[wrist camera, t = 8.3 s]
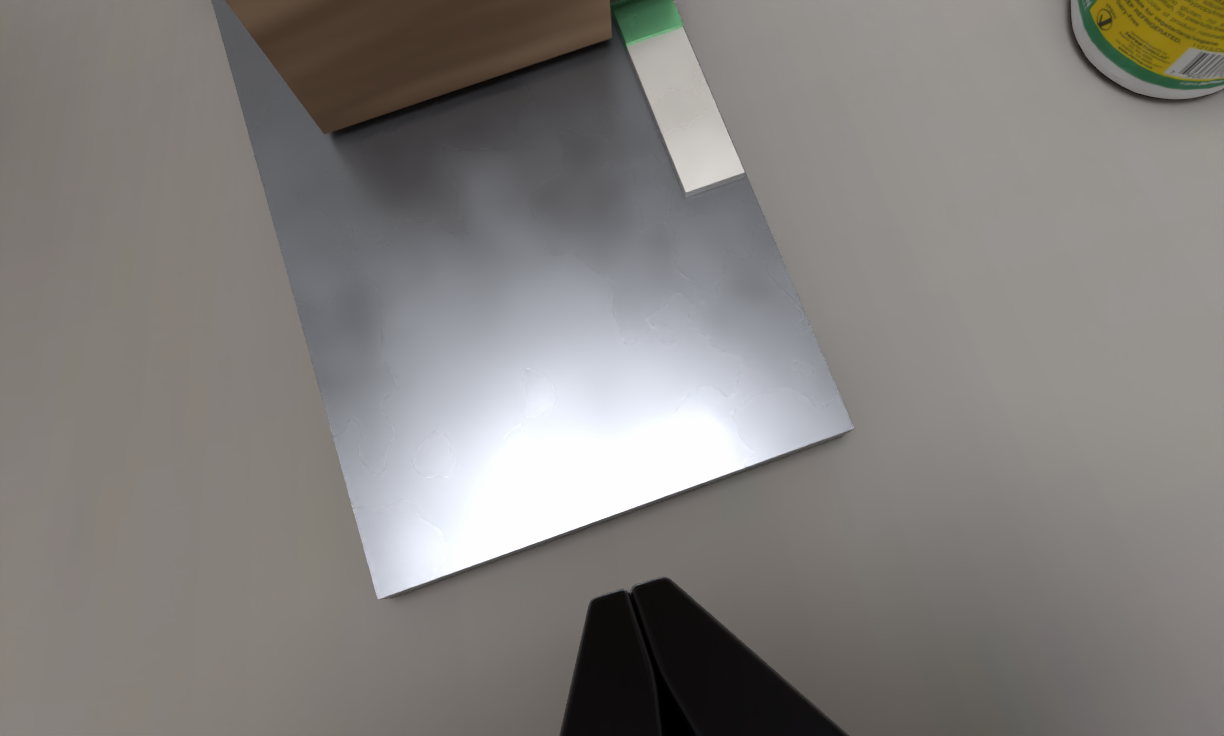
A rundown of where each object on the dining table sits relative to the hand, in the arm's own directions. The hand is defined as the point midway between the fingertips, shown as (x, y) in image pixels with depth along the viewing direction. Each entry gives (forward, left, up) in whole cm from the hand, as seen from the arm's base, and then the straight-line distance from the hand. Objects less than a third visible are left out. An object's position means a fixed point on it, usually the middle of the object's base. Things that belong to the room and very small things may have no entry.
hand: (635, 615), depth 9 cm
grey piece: (+12, -3, -13) cm, 18 cm away
